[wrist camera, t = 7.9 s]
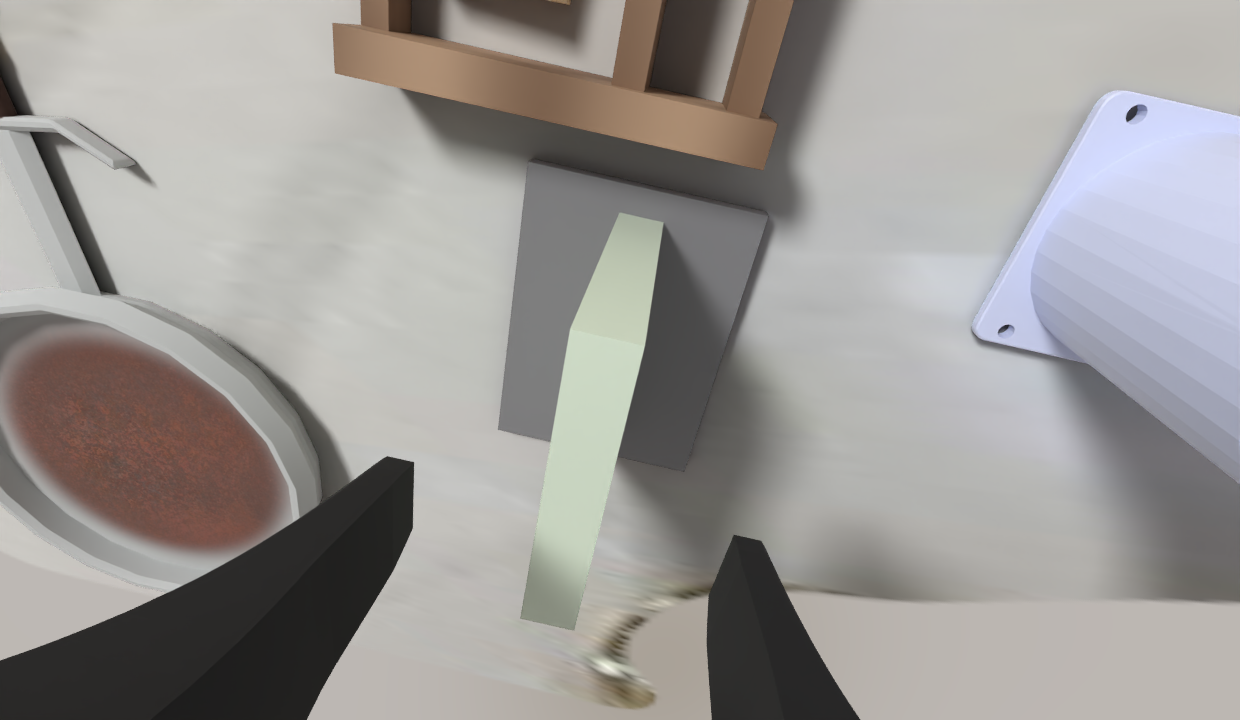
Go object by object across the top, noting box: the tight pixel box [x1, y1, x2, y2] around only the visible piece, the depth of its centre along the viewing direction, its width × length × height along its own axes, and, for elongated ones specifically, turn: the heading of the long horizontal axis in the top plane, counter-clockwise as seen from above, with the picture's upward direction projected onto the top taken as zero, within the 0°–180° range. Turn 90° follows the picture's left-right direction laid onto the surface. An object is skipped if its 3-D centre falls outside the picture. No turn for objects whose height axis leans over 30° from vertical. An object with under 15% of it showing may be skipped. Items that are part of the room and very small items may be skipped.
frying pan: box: [0, 76, 322, 593], centre depth 24 cm, size 17×3×28 cm
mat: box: [498, 159, 768, 472], centre depth 21 cm, size 8×11×1 cm
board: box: [520, 213, 664, 630], centre depth 17 cm, size 2×9×9 cm, turn 169°
